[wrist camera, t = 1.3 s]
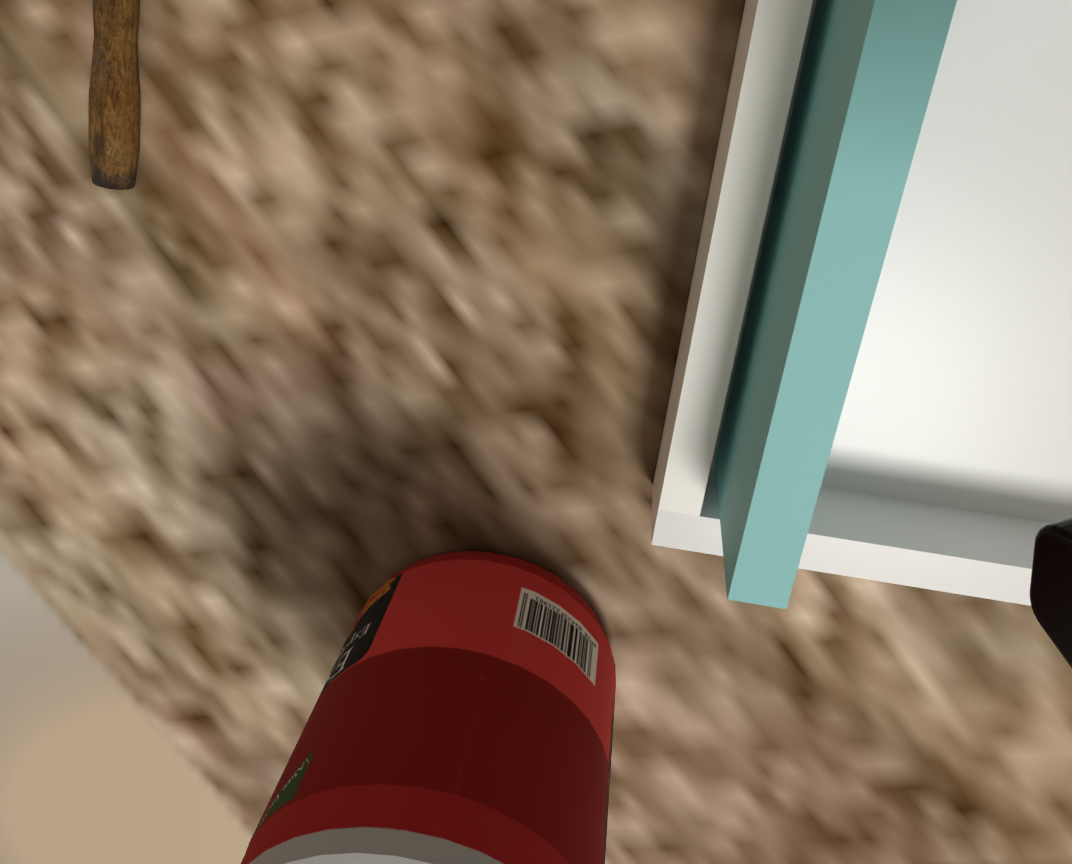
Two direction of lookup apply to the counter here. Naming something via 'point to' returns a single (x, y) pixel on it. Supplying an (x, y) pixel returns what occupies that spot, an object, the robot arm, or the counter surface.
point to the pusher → (819, 275)
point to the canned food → (455, 727)
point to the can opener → (114, 95)
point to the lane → (910, 315)
